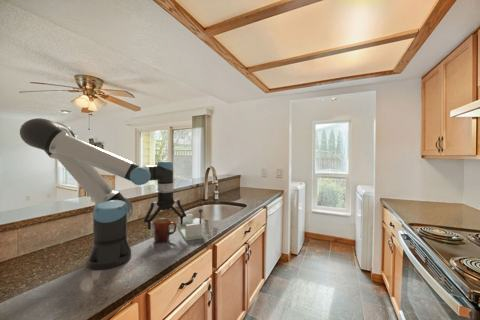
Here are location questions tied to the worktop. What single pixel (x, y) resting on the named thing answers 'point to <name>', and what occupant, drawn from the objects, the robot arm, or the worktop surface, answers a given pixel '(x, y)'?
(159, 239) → the mug
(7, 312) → the worktop surface
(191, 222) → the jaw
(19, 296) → the worktop surface
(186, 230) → the vise
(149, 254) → the worktop surface
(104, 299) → the worktop surface
